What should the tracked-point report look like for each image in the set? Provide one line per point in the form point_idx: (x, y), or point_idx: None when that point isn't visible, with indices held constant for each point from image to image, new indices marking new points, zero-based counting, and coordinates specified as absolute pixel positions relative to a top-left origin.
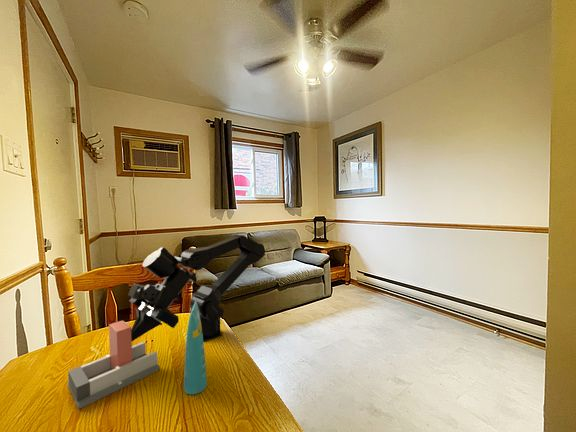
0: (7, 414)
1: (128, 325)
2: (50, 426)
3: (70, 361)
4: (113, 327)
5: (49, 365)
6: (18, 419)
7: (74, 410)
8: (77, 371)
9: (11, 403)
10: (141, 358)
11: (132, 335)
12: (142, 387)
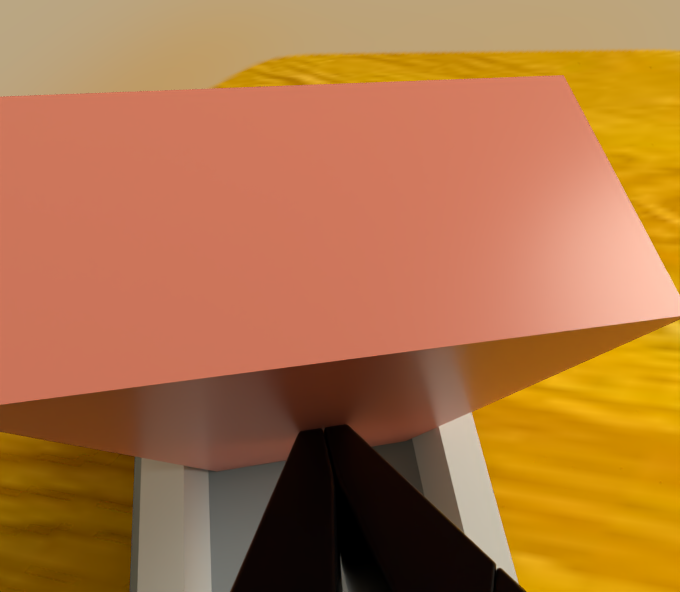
0: (344, 58)
1: (143, 372)
2: None
3: (652, 215)
4: (331, 101)
5: (655, 150)
6: (281, 77)
7: None
8: None
9: (411, 64)
10: (155, 556)
11: (275, 497)
12: (29, 505)
